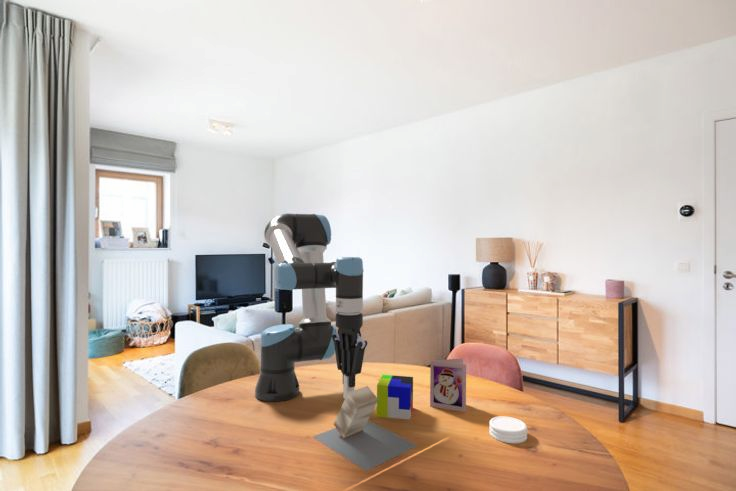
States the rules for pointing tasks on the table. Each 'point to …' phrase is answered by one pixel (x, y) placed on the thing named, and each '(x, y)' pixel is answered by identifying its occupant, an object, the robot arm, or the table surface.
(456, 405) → the greeting card
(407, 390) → the puzzle toy
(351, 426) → the birch block
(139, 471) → the table surface
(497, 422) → the white round disc stack
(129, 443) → the table surface
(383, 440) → the slate mat
